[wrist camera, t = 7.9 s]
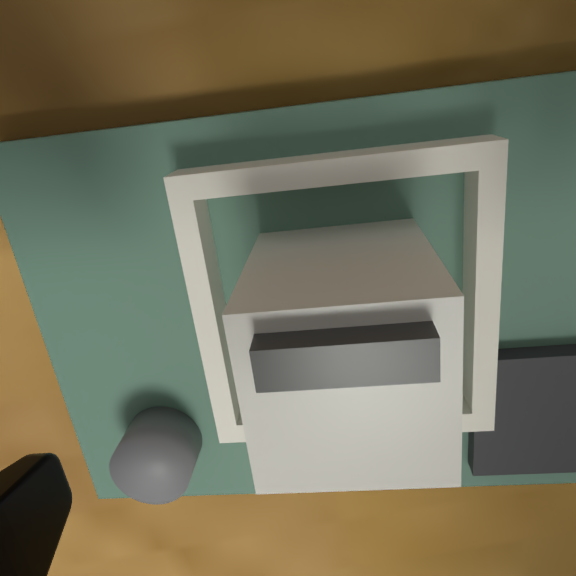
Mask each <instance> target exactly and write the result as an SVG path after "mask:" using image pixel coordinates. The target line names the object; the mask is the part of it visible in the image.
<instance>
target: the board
mask: <svg viewBox="0 0 576 576" xmlns="http://www.w3.org/2000/svg"><path fill="white" fill-rule="evenodd" d="M0 216H1V218H2V221H3V224H4V227H5V230H6V233H7V236H8V239H9V242H10V244H11V247H12V250H13V253H14V256H15V259H16V262H17V265H18V268H19V270H20V273H21V276H22V279H23V282H24V285H25V288H26V291H27V294H28V296H29V299H30V302H31V305H32V308H33V311H34V314H35V317H36V320H37V322H38V325H39V328H40V331H41V334H42V337H43V340H44V343H45V346H46V348H47V351H48V354H49V357H50V360H51V363H52V366H53V369H54V372H55V374H56V377H57V380H58V383H59V386H60V389H61V392H62V395H63V397H64V400H65V403H66V406H67V409H68V412H69V415H70V418H71V421H72V423H73V426H74V429H75V432H76V435H77V438H78V441H79V444H80V447H81V449H82V452H83V455H84V458H85V461H86V464H87V467H88V470H89V473H90V475H91V478H92V481H93V484H94V487H95V490H96V493H97V496H98V499H106V498H132V499H135V500H137V501H140V502H143V503H147V504H165V503H169V502H172V501H174V500H176V499H178V498H180V497H181V496H197V495H227V494H256V492H255V487H254V481H253V476H252V471H251V466H250V460H249V455H248V450H247V445H246V439H245V434H244V429H243V424H242V418H241V413H240V408H239V403H238V397H237V392H236V387H235V382H234V377H233V371H232V366H231V361H230V356H229V350H228V345H227V340H226V335H225V329H224V324H223V319H222V314H223V312H224V309H225V307H226V305H227V303H228V301H229V299H230V296H231V294H232V292H233V290H234V288H235V286H236V283H237V281H238V279H239V277H240V275H241V273H242V270H243V268H244V266H245V264H246V262H247V259H248V257H249V255H250V253H251V251H252V249H253V246H254V244H255V242H256V240H257V238H258V236H259V233H268V232H279V231H289V230H299V229H309V228H319V227H329V226H340V225H350V224H360V223H370V222H380V221H391V220H401V219H411V218H414V220H415V221H416V223H417V224H418V226H419V228H420V229H421V231H422V232H423V234H424V235H425V237H426V238H427V240H428V241H429V243H430V244H431V246H432V248H433V249H434V251H435V252H436V254H437V255H438V257H439V258H440V260H441V261H442V263H443V264H444V266H445V267H446V269H447V271H448V272H449V274H450V275H451V277H452V278H453V280H454V281H455V283H456V284H457V286H458V287H459V289H460V291H461V292H462V294H463V295H464V336H463V402H462V468H461V487H467V486H498V485H528V484H558V483H576V70H574V71H566V72H558V73H549V74H541V75H533V76H525V77H517V78H509V79H501V80H493V81H485V82H477V83H469V84H461V85H453V86H445V87H437V88H429V89H421V90H413V91H405V92H397V93H389V94H381V95H373V96H365V97H357V98H349V99H341V100H332V101H324V102H316V103H308V104H300V105H292V106H284V107H276V108H268V109H260V110H252V111H244V112H236V113H228V114H220V115H212V116H204V117H196V118H188V119H180V120H172V121H164V122H156V123H148V124H140V125H132V126H124V127H116V128H107V129H99V130H91V131H83V132H75V133H67V134H59V135H51V136H43V137H35V138H27V139H19V140H11V141H3V142H0Z"/></svg>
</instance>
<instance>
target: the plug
mask: <svg viewBox="0 0 576 576" xmlns="http://www.w3.org/2000/svg"><path fill="white" fill-rule="evenodd" d="M222 319H223V324H224V329H225V335H226V340H227V345H228V350H229V356H230V361H231V366H232V371H233V377H234V382H235V387H236V392H237V397H238V403H239V408H240V413H241V418H242V424H243V429H244V434H245V439H246V445H247V450H248V455H249V460H250V466H251V471H252V476H253V481H254V487H255V492H256V494H279V493H307V492H336V491H364V490H392V489H420V488H448V487H461V468H462V402H463V336H464V295H463V294H462V292H461V291H460V289H459V287H458V286H457V284H456V283H455V281H454V280H453V278H452V277H451V275H450V274H449V272H448V271H447V269H446V267H445V266H444V264H443V263H442V261H441V260H440V258H439V257H438V255H437V254H436V252H435V251H434V249H433V248H432V246H431V244H430V243H429V241H428V240H427V238H426V237H425V235H424V234H423V232H422V231H421V229H420V228H419V226H418V224H417V223H416V221H415V220H414V218H411V219H401V220H391V221H380V222H370V223H360V224H350V225H340V226H329V227H319V228H309V229H299V230H289V231H279V232H268V233H259V236H258V238H257V240H256V242H255V244H254V246H253V249H252V251H251V253H250V255H249V257H248V259H247V262H246V264H245V266H244V268H243V270H242V273H241V275H240V277H239V279H238V281H237V283H236V286H235V288H234V290H233V292H232V294H231V296H230V299H229V301H228V303H227V305H226V307H225V309H224V312H223V314H222Z"/></svg>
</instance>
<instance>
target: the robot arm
mask: <svg viewBox="0 0 576 576" xmlns="http://www.w3.org/2000/svg"><path fill="white" fill-rule="evenodd" d="M71 504H72V493H71V489H70V487H69V484H68V481H67V478H66V476H65V473H64V470H63V468H62V465H61V462H60V460H59V458H58V457H57V456H56V455H55V454H52V453H38V454H29V455H26V456H24V457H23V458H21V459H19V460H18V461H16V462H15V463H13V464H11V465H10V466H8V467H7V468H5V469H3V470H2V471H0V576H47V574H48V571H49V568H50V566H51V563H52V560H53V557H54V554H55V551H56V549H57V546H58V543H59V540H60V537H61V535H62V532H63V529H64V526H65V523H66V521H67V518H68V515H69V512H70V509H71Z"/></svg>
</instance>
